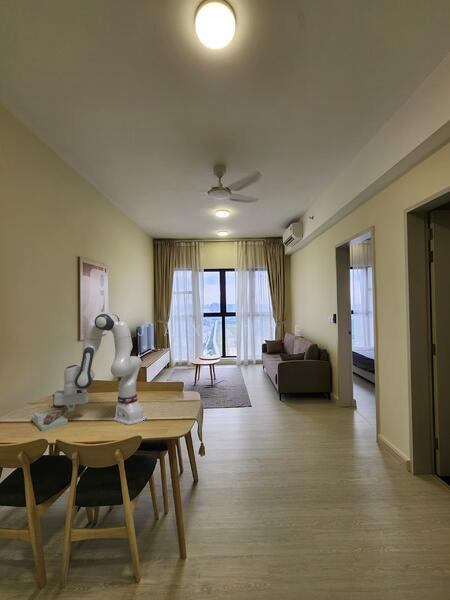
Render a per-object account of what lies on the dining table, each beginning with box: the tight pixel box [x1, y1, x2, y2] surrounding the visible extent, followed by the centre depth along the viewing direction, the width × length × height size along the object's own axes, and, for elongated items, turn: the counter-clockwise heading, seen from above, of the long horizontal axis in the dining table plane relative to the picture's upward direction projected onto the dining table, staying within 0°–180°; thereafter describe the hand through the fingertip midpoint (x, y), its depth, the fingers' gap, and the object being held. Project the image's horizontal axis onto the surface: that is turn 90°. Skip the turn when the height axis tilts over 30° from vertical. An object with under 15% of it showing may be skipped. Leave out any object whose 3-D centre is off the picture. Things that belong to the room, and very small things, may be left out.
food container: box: [51, 393, 67, 410], centre depth 210 cm, size 12×6×10 cm, turn 74°
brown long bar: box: [44, 408, 66, 424], centre depth 183 cm, size 18×4×4 cm, turn 1°
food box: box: [31, 409, 69, 432], centre depth 184 cm, size 24×14×6 cm, turn 46°
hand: (71, 410), depth 189 cm, fingers closed
